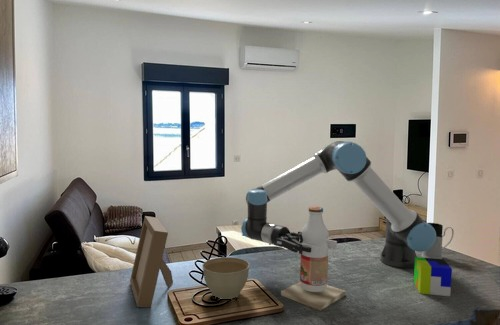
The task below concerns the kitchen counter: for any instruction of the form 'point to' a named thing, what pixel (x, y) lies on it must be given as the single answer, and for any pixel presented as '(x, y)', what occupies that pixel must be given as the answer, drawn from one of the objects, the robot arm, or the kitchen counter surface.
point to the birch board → (313, 296)
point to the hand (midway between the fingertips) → (328, 248)
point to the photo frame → (149, 262)
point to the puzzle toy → (432, 276)
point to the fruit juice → (313, 265)
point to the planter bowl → (226, 276)
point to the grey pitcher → (437, 243)
